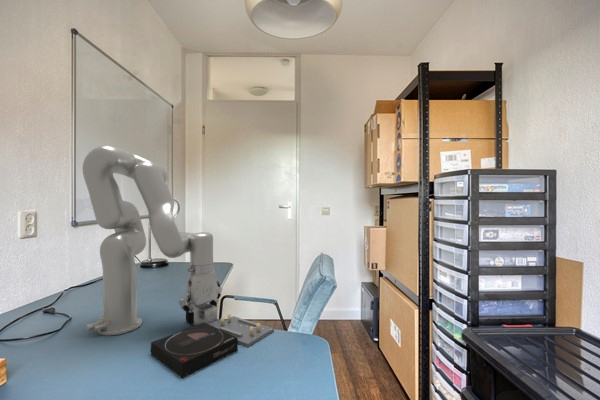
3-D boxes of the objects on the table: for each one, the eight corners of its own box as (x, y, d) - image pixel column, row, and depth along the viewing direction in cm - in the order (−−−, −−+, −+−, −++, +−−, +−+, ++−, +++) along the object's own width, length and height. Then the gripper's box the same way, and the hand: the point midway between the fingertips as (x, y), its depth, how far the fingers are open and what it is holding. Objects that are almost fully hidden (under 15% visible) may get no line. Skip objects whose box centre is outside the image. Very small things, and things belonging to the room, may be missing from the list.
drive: (204, 329, 95) (204, 311, 95) (187, 322, 101) (187, 304, 101) (217, 324, 99) (217, 306, 99) (199, 317, 105) (199, 300, 105)
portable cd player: (203, 334, 93) (203, 321, 93) (237, 351, 82) (237, 337, 82) (150, 355, 80) (150, 341, 80) (182, 380, 69) (182, 363, 69)
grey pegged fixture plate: (247, 347, 83) (247, 335, 83) (206, 332, 93) (206, 321, 93) (273, 331, 93) (273, 320, 93) (233, 319, 103) (233, 309, 103)
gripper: (186, 275, 91) (187, 330, 91) (228, 265, 105) (228, 312, 105) (172, 272, 95) (172, 324, 95) (214, 262, 109) (214, 308, 109)
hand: (202, 318), depth 100 cm, fingers open, 9 cm apart
